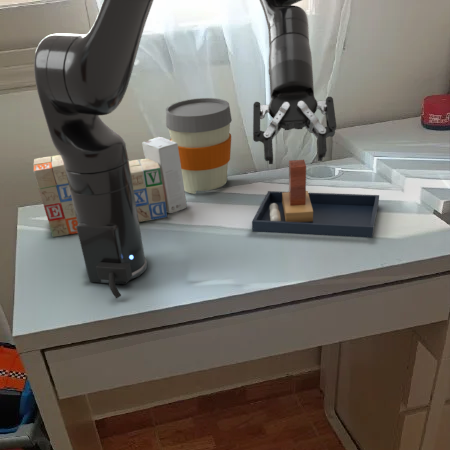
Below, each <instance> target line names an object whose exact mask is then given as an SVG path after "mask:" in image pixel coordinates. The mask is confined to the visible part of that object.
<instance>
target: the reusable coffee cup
mask: <svg viewBox="0 0 450 450" xmlns="http://www.w3.org/2000/svg"><path fill="white" fill-rule="evenodd" d="M232 119H233V118H232V113H231V108H230V103H229V101H227V100H225V99H222V98H215V97H198V98H189V99H183V100H180V101H177V102H174V103H171V104H169V105H168V106H167V107H166V108H165V126H166V128H167V129H168V133H169V137H170V139H169V140H170V141H173V142H175V143H178V150H179V157H180V163H181V170H182V176H183V183H184V189H185V193H189V194H191V195H196V194H197V192H205V191H213V190H216V189H219V188H222V187H223V186H225V185H226V183H227V182H228V167H229V163H230V160H231V152H232V151H231V149H232V134H231V133H230V130H231V123H232Z"/></svg>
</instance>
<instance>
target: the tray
mask: <svg viewBox="0 0 450 450" xmlns="http://www.w3.org/2000/svg"><path fill="white" fill-rule="evenodd" d="M283 192H284V191H276V190H275V191H273V190H268V191H267V192H266V194H265V196H264V197H263V200H262V202H261V204H260V206H259V207H258V209H257V211H256V213H255V215H254V217H253V219H252V220H251V229H252V232H253V233H254V232H256V233H270V234H271V233H274V234H293V235H310V236H330V237H349V238H367V239H369V238H370V239H372V238H373V235H374V231H375V230H374V229H375V226H376V221H377V215H378V210H379V202H380V195H379V194H361V193H360V194H359V193H357V194H355V193H332V192H331V193H330V192H308V194H309V198H310V201H311V205H312V209H313V223H305V222H285V220H284V214H283V208H282V193H283ZM273 203H276V204H277V205H278V206H279V210H280V217H281V221H271V220H270V212H269V206H270V205H271V204H273Z"/></svg>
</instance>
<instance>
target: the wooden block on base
mask: <svg viewBox="0 0 450 450" xmlns="http://www.w3.org/2000/svg"><path fill="white" fill-rule="evenodd" d="M282 192H283V193H282V208H283V214H284V220H285V222H305V223H313V209H312V205H311V201H310V198H309V194H308V193H309V190H307V165H306V160H305V159H293V160H292V159H291V160H289V161H288V191H282Z"/></svg>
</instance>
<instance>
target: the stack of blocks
mask: <svg viewBox="0 0 450 450" xmlns="http://www.w3.org/2000/svg"><path fill="white" fill-rule="evenodd" d="M129 166H130V171H131V177H132V184H133V190H134V196H135V201H136V207H137V213H138V219H139V223H141V222H147V221H152V220H154V221H155V220H157V219H158V220H159V219H164V218H168V212H167V211H166V204H165V196H164V189H163V184H162V177H161V171H160V167H159V165H158V163H157V162H155V161H153V160H150V159H148V158H146V159H145V158H141V159H133V160H129ZM33 173H34V177H35V180H36V183H37V189H38V192H39V195H40V196H39V197H40V199H41V202H42V205H43V208H44V211H45V215H46V218H47V221H48V225H49V229H50V232H51V236H52V237H53V238H56V237H63V236H68V235H74V234H78V232H77V225H78V222H77V218H76V214H75V210H74V206H73V201H72V197H71V193H70V189H69V184H68V180H67V176H66V172H65V167H64V164H63V160H62V158H61V156H60V154H58V155H52V156H50V155H49V156H43V157H38V158H34V159H33Z"/></svg>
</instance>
